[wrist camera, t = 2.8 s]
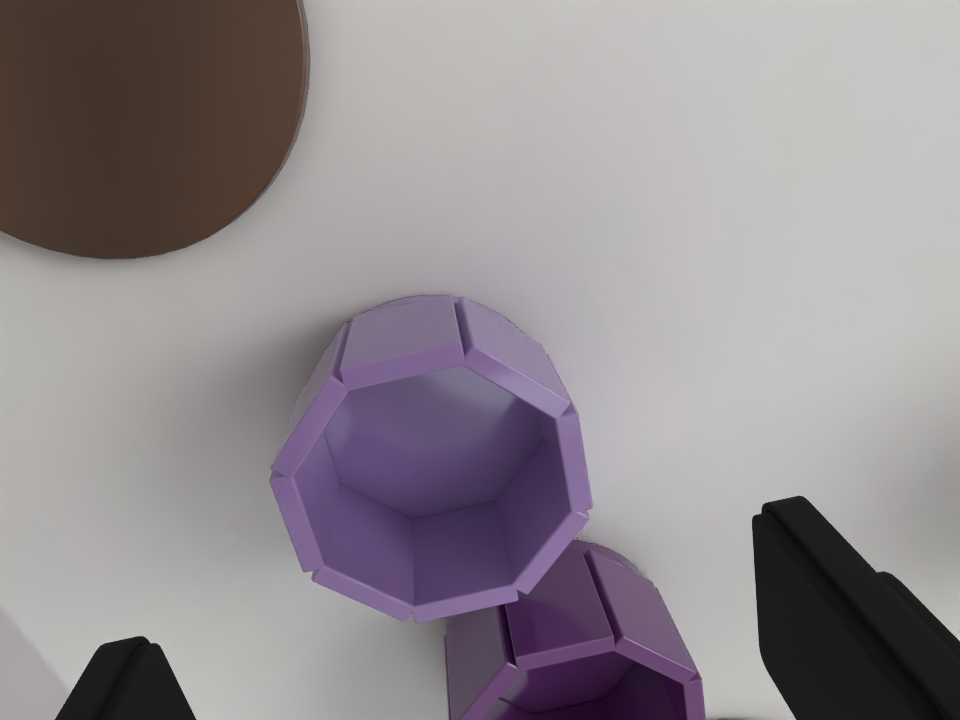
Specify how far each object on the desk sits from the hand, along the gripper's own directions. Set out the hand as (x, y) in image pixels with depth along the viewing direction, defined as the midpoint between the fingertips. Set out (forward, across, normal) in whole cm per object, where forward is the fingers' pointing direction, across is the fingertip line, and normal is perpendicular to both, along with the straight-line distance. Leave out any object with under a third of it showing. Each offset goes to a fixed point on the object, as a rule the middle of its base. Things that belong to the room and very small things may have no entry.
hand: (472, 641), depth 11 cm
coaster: (+8, +6, -10) cm, 14 cm away
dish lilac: (+8, 0, 0) cm, 8 cm away
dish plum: (+8, -2, +8) cm, 11 cm away
